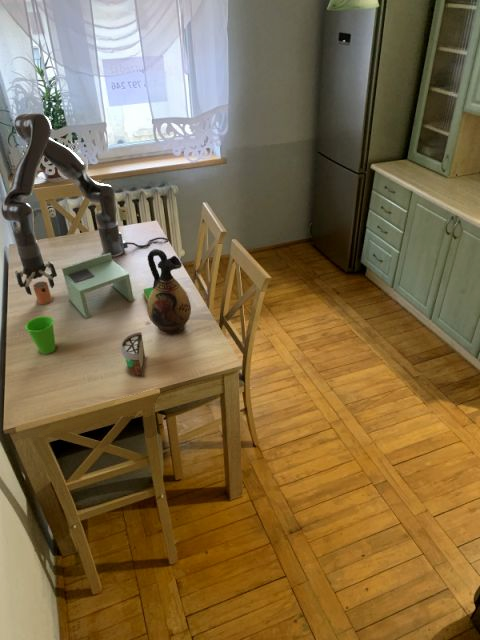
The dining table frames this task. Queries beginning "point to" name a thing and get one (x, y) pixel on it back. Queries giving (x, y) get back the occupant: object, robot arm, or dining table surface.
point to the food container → (134, 353)
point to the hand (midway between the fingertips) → (41, 290)
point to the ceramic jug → (167, 296)
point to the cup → (42, 333)
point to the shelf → (95, 279)
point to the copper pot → (42, 292)
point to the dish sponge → (147, 292)
